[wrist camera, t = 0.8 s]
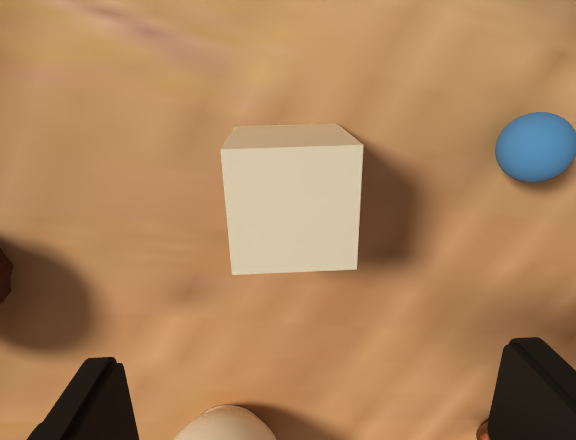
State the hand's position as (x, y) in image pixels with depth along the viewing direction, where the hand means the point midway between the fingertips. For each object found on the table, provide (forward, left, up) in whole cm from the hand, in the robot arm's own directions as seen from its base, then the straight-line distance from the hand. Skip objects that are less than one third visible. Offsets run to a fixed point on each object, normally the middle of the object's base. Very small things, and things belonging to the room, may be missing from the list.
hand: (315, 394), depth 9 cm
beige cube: (0, 0, -22) cm, 22 cm away
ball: (-2, +18, -19) cm, 27 cm away
